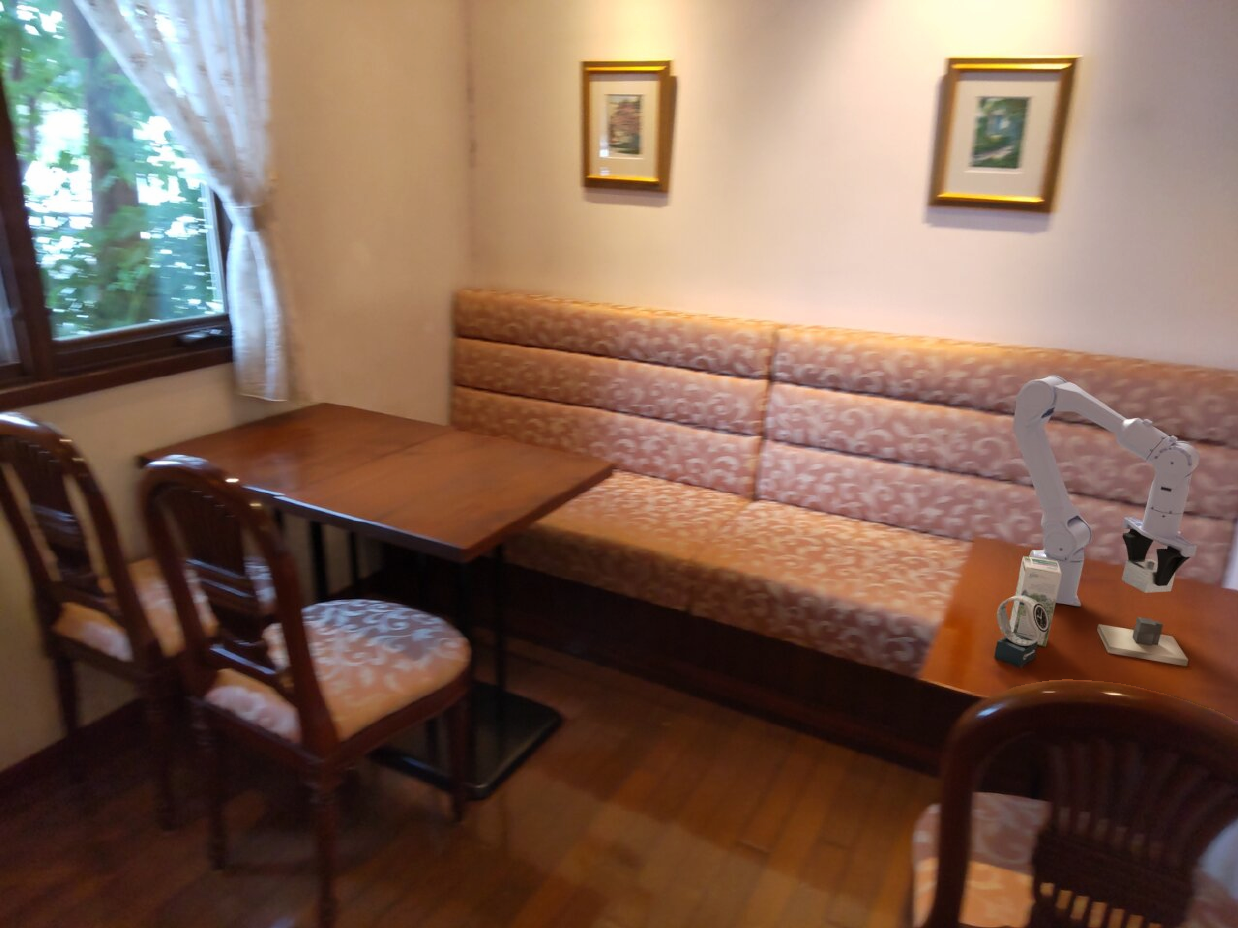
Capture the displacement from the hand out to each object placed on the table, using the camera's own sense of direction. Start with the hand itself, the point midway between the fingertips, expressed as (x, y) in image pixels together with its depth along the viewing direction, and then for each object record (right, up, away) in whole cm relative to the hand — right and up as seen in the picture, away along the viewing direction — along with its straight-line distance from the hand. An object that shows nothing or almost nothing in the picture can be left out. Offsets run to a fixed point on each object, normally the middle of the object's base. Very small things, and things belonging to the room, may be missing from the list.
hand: (1147, 577), depth 157 cm
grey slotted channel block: (0, -1, 0) cm, 2 cm away
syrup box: (-25, -10, -5) cm, 27 cm away
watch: (-31, -12, -13) cm, 35 cm away
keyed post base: (-6, -11, -7) cm, 15 cm away
